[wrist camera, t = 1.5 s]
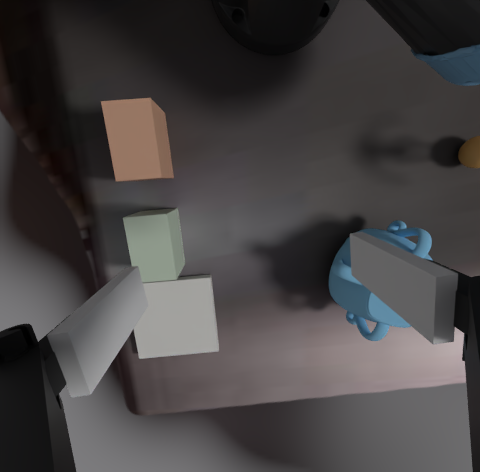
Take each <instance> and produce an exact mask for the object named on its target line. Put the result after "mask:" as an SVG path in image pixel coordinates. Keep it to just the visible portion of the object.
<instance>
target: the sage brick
mask: <svg viewBox="0 0 480 472" xmlns="http://www.w3.org/2000/svg"><path fill="white" fill-rule="evenodd" d="M123 221H124V227H125V232H126V237H127V243H128V248H129V253H130V259H131V264H132V267H133V266H138V268H139V271H140V275H141V279H142V283H144V282H155V281H166V280H177V278H178V276H179V274H180V272H181V271H182V269H183V267H184V265H185V258H184V250H183V243H182V236H181V228H180V221H179V213H178V208H172V209H160V210H148V211H140V212H137V213H134V214H131V215H129V216H126V217H123Z"/></svg>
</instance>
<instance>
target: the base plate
mask: <svg viewBox="0 0 480 472" xmlns="http://www.w3.org/2000/svg"><path fill="white" fill-rule="evenodd" d="M143 286H144V290H145V294H146V298H147V301H148V305H149V306H148V307H147V309H146V311H145V312H144V314H143V315H142V317H141V318H140V320H139V321H138V323H137V324H136V326H135V327H134V334H135V339H136V344H137V349H138V354H139V359H142V358H153V357H163V356H174V355H185V354H195V353H206V352H216V351H219V342H218V333H217V324H216V315H215V306H214V297H213V288H212V279H211V274H210V275H199V276H187V277H178V278H177V280H166V281H155V282H144V283H143Z"/></svg>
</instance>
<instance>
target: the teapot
mask: <svg viewBox="0 0 480 472" xmlns="http://www.w3.org/2000/svg"><path fill="white" fill-rule="evenodd" d="M358 232H364V233H366V234H369V235H371V236H373V237H376V238H378V239H380V240H382V241H385V242H387V243H389V244H392V245H394V246H396V247H398V248H401V249H403V250H405V251H407V252H410V253H412V254H414V255H417V256H419V257H421V258H424V259H428V260H432V259H431V257H430V256H429V255H428V254H427V253H428V252H429V250H430V248H431V243H432V240H431V236H430V234H429V233H428V232H427V231H425V230H423V229H420V228H406V224H405V223H404V222H402V221H398V220H397V221H393V222H392V223H391V224H390V225H389V226H388V228H387V231H385V230H380V229H373V228H370V229H363V230H360V231H358ZM414 235H418V243H417V245H416V244H415V243H413V242H411V241H410V240H408V239H406V238H404V237H407V236H414ZM432 261H433V260H432ZM329 291H330V294H331V296H332V298H333V299H334V301H335V302H336V303H338V304H339V305H340V306H341V307H342V308H344V309H345V310H347V314H346V318H347V320H348V322H349V323H351V324H354V325H356V324H357V327H358V329H359V331H360V333H361V334H362V336H363V337H365V338H366V339H368V340H371V341H378V340H381V339H382V338H383V337H384V336H385V335H386V334H387V332H388V329H389V325H390V326H395V327H403V328H406V327H411V325H410V324H409V323H407V322H406V321H405V320H404V319H403V318H401V317H400V316H399V315H398V314H397V313H396V312H394V311H393V310H392V309H391V308H390V307H388V306H387V305H386V304H385V303H384V302H383V301H381V300H380V299H379V298H378V297H377V296H376V295H374V294H373V293H372V292H371V291H370V290H368V289H367V288H366V287H365V286H364V285H363V284H361V283H360V282H359V281H358V280H357V279H356V278H354V277H353V276H352V274H351V252H350V237H348V238H347V239H346V241H345V243H344V244H343V245H342V247H341V248H340V249H339V251H338V253H337V254H336V256H335V258H334V261H333V263H332V266H331V270H330V275H329ZM365 319H367V320H370V321H373V322H377V325H376V327H375V329H374V330H373V331H372V332H370V331H369V329H368V326H367V324H366V321H365Z"/></svg>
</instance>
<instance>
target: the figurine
mask: <svg viewBox="0 0 480 472" xmlns="http://www.w3.org/2000/svg"><path fill="white" fill-rule="evenodd" d="M458 158H459V161H460V162H461V163H462V164H463V165H464V166H466V167H469V168H480V136H476V137H473V138H471V139H469V140H468V141H466V142H465V143H464V144H463V145H462V146H461V148H460V150H459V153H458Z"/></svg>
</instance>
